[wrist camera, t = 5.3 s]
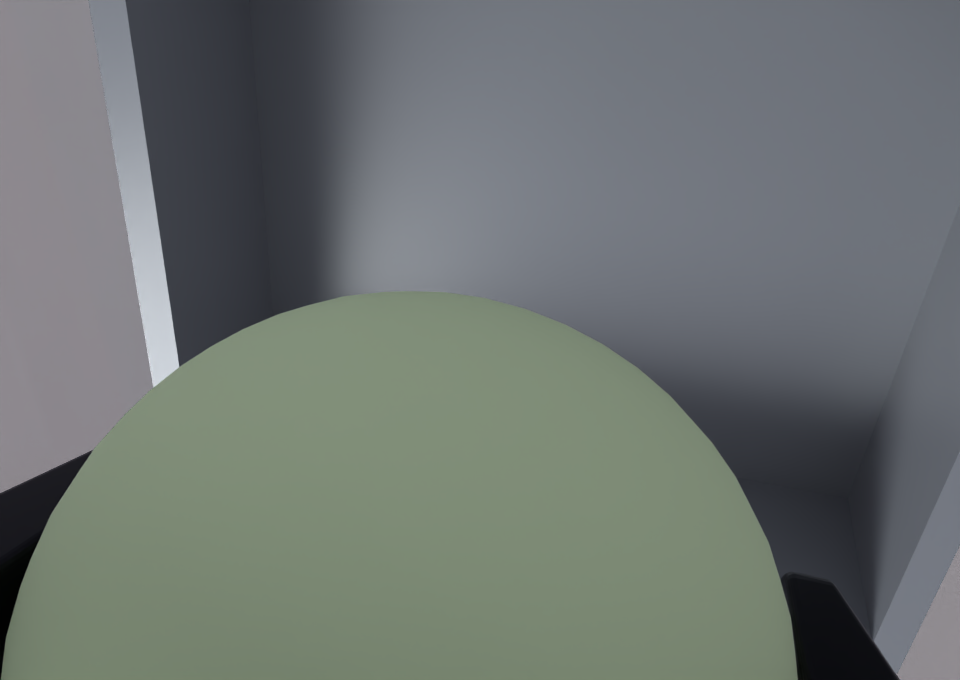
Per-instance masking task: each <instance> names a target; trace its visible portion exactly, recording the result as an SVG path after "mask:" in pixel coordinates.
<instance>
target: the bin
mask: <svg viewBox="0 0 960 680" xmlns="http://www.w3.org/2000/svg"><path fill="white" fill-rule="evenodd" d="M88 1H89V7H90V13H91V19H92V25H93V31H94V37H95V43H96V49H97V55H98V61H99V67H100V73H101V78H102V84H103V90H104V96H105V102H106V108H107V114H108V120H109V126H110V132H111V138H112V144H113V150H114V156H115V162H116V168H117V174H118V179H119V185H120V191H121V197H122V203H123V209H124V215H125V221H126V227H127V233H128V239H129V245H130V251H131V257H132V263H133V269H134V275H135V281H136V286H137V292H138V298H139V304H140V310H141V316H142V322H143V328H144V334H145V340H146V346H147V352H148V358H149V364H150V370H151V376H152V382H153V387H155V386H156V385H158V384H159V383H160V382H161V381H163V380H164V379H165V378H166V377H168V376H169V375H170V374H171V373H173V372H174V371H175V370H176V369H178V368H179V367H180V366H182V365H183V364H185V363H186V362H188V361H189V360H191V359H192V358H194V357H195V356H197V355H199V354H200V353H202V352H203V351H205V350H206V349H208V348H209V347H211V346H213V345H214V344H216V343H218V342H220V341H222V340H224V339H226V338H228V337H229V336H231V335H233V334H235V333H237V332H239V331H241V330H242V329H244V328H247V327H249V326H252V325H254V324H256V323H259V322H261V321H263V320H266V319H268V318H270V317H273V316H275V315H278V314H281V313H284V312H287V311H290V310H294V309H297V308H300V307H304V306H307V305H311V304H315V303H319V302H323V301H327V300H331V299H335V298H339V297H343V296H351V295H360V294H370V293H379V292H396V291H420V292H447V293H454V294H461V295H468V296H475V297H481V298H487V299H490V300H494V301H498V302H502V303H505V304H509V305H513V306H517V307H520V308H524V309H527V310H530V311H532V312H535V313H537V314H540V315H542V316H545V317H548V318H550V319H553V320H555V321H558V322H560V323H563V324H565V325H567V326H569V327H571V328H573V329H575V330H577V331H579V332H581V333H582V334H584V335H586V336H588V337H590V338H592V339H594V340H596V341H598V342H600V343H602V344H603V345H605V346H606V347H608V348H609V349H611V350H612V351H614V352H615V353H617V354H618V355H620V356H621V357H623V358H624V359H625V360H627V361H628V362H630V363H631V364H633V365H634V366H636V367H637V368H639V369H640V370H641V371H642V372H643V373H644V374H646V375H647V376H648V377H649V378H650V379H651V380H653V381H654V382H655V383H656V384H657V385H658V386H660V387H661V388H662V389H663V390H664V391H665V392H666V393H668V394H669V395H670V396H671V397H672V398H673V399H674V401H675V402H676V403H677V404H678V405H679V406H680V407H681V408H682V409H683V410H684V412H685V413H686V414H687V415H688V416H689V417H690V418H691V419H692V420H693V422H694V423H695V424H696V425H697V426H698V427H699V428H700V429H701V431H702V432H703V433H704V434H705V435H706V436H707V437H708V438H709V440H710V441H711V442H712V443H713V445H714V446H715V448H716V449H717V450H718V452H719V453H720V455H721V456H722V458H723V459H724V461H725V462H726V463H727V465H728V466H729V468H730V469H731V471H732V472H733V474H734V475H735V476H736V478H737V480H738V482H739V484H740V486H741V488H742V490H743V492H744V494H745V496H746V498H747V500H748V502H749V504H750V506H751V508H752V510H753V512H754V514H755V516H756V518H757V520H758V522H759V524H760V526H761V528H762V530H763V532H764V534H765V536H766V538H767V540H768V542H769V545H770V548H771V552H772V555H773V558H774V561H775V564H776V568H777V571H778V574H779V577H780V579H781V578H782V576H783V575H784V574H785V573H788V572H797V573H802V574H807V575H812V576H816V577H821V578H826V579H828V580H830V581H831V582H833V583H834V584H835V585H836V586H837V588H838V589H839V591H840V592H841V593H842V595H843V596H844V598H845V599H846V601H847V602H848V604H849V605H850V607H851V608H852V610H853V611H854V613H855V614H856V616H857V617H858V619H859V620H860V622H861V623H862V625H863V626H864V628H865V629H866V630H867V632H868V633H869V635H870V636H871V638H872V639H873V641H874V642H875V644H876V645H877V647H878V648H879V650H880V651H881V653H882V654H883V656H884V657H885V659H886V660H887V662H888V663H889V664H890V666H891V667H892V669H893V670H894V672H895V673H898V671H899V669H900V667H901V665H902V663H903V661H904V659H905V657H906V655H907V653H908V651H909V649H910V647H911V645H912V642H913V640H914V638H915V636H916V634H917V632H918V630H919V628H920V626H921V624H922V622H923V620H924V618H925V616H926V614H927V612H928V610H929V608H930V606H931V604H932V601H933V599H934V597H935V595H936V593H937V591H938V589H939V587H940V585H941V583H942V581H943V579H944V577H945V575H946V573H947V571H948V569H949V567H950V565H951V562H952V560H953V558H954V556H955V554H956V552H957V550H958V548H959V546H960V0H88Z"/></svg>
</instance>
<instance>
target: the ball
mask: <svg viewBox="0 0 960 680" xmlns="http://www.w3.org/2000/svg"><path fill="white" fill-rule="evenodd" d="M1 680H798V676H797V666H796V655H795V647H794V639H793V631H792V623H791V616H790V613H789V609H788V605H787V602H786V598H785V595H784V591H783V588H782V584H781V580H780V577H779V574H778V571H777V568H776V564H775V561H774V558H773V555H772V552H771V548H770V545H769V542H768V540H767V538H766V536H765V534H764V532H763V530H762V528H761V526H760V524H759V522H758V520H757V518H756V516H755V514H754V512H753V510H752V508H751V506H750V504H749V502H748V500H747V498H746V496H745V494H744V492H743V490H742V488H741V486H740V484H739V482H738V480H737V478H736V476H735V475H734V474H733V472H732V471H731V469H730V468H729V466H728V465H727V463H726V462H725V461H724V459H723V458H722V456H721V455H720V453H719V452H718V450H717V449H716V448H715V446H714V445H713V443H712V442H711V441H710V440H709V438H708V437H707V436H706V435H705V434H704V433H703V432H702V431H701V429H700V428H699V427H698V426H697V425H696V424H695V423H694V422H693V420H692V419H691V418H690V417H689V416H688V415H687V414H686V413H685V412H684V410H683V409H682V408H681V407H680V406H679V405H678V404H677V403H676V402H675V401H674V399H673V398H672V397H671V396H670V395H669V394H668V393H666V392H665V391H664V390H663V389H662V388H661V387H660V386H658V385H657V384H656V383H655V382H654V381H653V380H651V379H650V378H649V377H648V376H647V375H646V374H644V373H643V372H642V371H641V370H640V369H639V368H637V367H636V366H634V365H633V364H631V363H630V362H628V361H627V360H625V359H624V358H623V357H621V356H620V355H618V354H617V353H615V352H614V351H612V350H611V349H609V348H608V347H606V346H605V345H603V344H602V343H600V342H598V341H596V340H594V339H592V338H590V337H588V336H586V335H584V334H582V333H581V332H579V331H577V330H575V329H573V328H571V327H569V326H567V325H565V324H563V323H560V322H558V321H555V320H553V319H550V318H548V317H545V316H542V315H540V314H537V313H535V312H532V311H530V310H527V309H524V308H520V307H517V306H513V305H509V304H505V303H502V302H498V301H494V300H490V299H487V298H481V297H475V296H468V295H461V294H454V293H447V292H420V291H396V292H379V293H370V294H360V295H351V296H343V297H339V298H335V299H331V300H327V301H323V302H319V303H315V304H311V305H307V306H304V307H300V308H297V309H294V310H290V311H287V312H284V313H281V314H278V315H275V316H273V317H270V318H268V319H266V320H263V321H261V322H259V323H256V324H254V325H252V326H249V327H247V328H244V329H242V330H241V331H239V332H237V333H235V334H233V335H231V336H229V337H228V338H226V339H224V340H222V341H220V342H218V343H216V344H214V345H213V346H211V347H209V348H208V349H206V350H205V351H203V352H202V353H200V354H199V355H197V356H195V357H194V358H192V359H191V360H189V361H188V362H186V363H185V364H183V365H182V366H180V367H179V368H178V369H176V370H175V371H174V372H173V373H171V374H170V375H169V376H168V377H166V378H165V379H164V380H163V381H161V382H160V383H159V384H158V385H156V386H155V387H154V388H152V389H151V390H150V391H149V392H148V393H147V394H146V395H145V396H144V397H143V398H142V399H141V400H139V401H138V402H137V403H136V404H135V405H134V406H133V407H132V408H131V409H130V410H129V411H128V412H127V413H126V414H125V415H124V416H123V417H122V418H121V419H120V420H119V422H118V423H117V424H116V425H115V426H114V427H113V428H112V429H111V430H110V432H109V433H108V434H107V435H106V436H105V437H104V438H103V439H102V440H101V441H100V443H99V444H98V445H97V446H96V447H95V448H94V450H93V451H92V453H91V454H90V456H89V457H88V459H87V460H86V462H85V463H84V465H83V466H82V468H81V469H80V471H79V472H78V473H77V475H76V477H75V478H74V480H73V481H72V483H71V484H70V486H69V487H68V489H67V490H66V492H65V493H64V495H63V496H62V498H61V500H60V501H59V503H58V504H57V506H56V507H55V509H54V510H53V512H52V513H51V515H50V518H49V520H48V522H47V524H46V526H45V529H44V531H43V533H42V535H41V537H40V540H39V542H38V544H37V546H36V549H35V551H34V553H33V555H32V557H31V560H30V562H29V565H28V567H27V570H26V573H25V575H24V578H23V581H22V583H21V586H20V589H19V593H18V596H17V600H16V603H15V607H14V611H13V614H12V618H11V621H10V625H9V629H8V632H7V636H6V641H5V649H4V657H3V665H2V673H1Z"/></svg>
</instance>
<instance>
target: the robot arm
mask: <svg viewBox="0 0 960 680" xmlns="http://www.w3.org/2000/svg"><path fill="white" fill-rule="evenodd" d="M92 451H93V450H92ZM92 451H90V452H87V453H85V454H83V455H81V456H79V457H77V458H75V459H73V460H70V461H68V462H66V463H64V464H62V465H60V466H58V467H55V468H53V469H51V470H49V471H47V472H45V473H43V474H41V475H38V476H36V477H34V478H32V479H30V480H28V481H26V482H24V483H21V484H19V485H17V486H15V487H13V488H11V489H9V490H6V491H4V492H2V493H0V680H1V673H2V665H3V657H4V649H5V641H6V636H7V632H8V629H9V625H10V621H11V618H12V614H13V611H14V607H15V603H16V600H17V596H18V593H19V589H20V586H21V583H22V581H23V578H24V575H25V573H26V570H27V567H28V565H29V562H30V560H31V557H32V555H33V553H34V551H35V549H36V546H37V544H38V542H39V540H40V537H41V535H42V533H43V531H44V529H45V526H46V524H47V522H48V520H49V518H50V515H51V513H52V512H53V510H54V509H55V507H56V506H57V504H58V503H59V501H60V500H61V498H62V496H63V495H64V493H65V492H66V490H67V489H68V487H69V486H70V484H71V483H72V481H73V480H74V478H75V477H76V475H77V473H78V472H79V471H80V469H81V468H82V466H83V465H84V463H85V462H86V460H87V459H88V457H89V456H90V454H91V453H92ZM780 580H781V584H782V588H783V591H784V595H785V598H786V602H787V605H788V609H789V613H790V616H791V623H792V631H793V639H794V647H795V655H796V666H797V676H798V680H900V679H899V678H898V676H897V675H896V673H895V672H894V670H893V669H892V667H891V666H890V664H889V663H888V662H887V660H886V659H885V657H884V656H883V654H882V653H881V651H880V650H879V648H878V647H877V645H876V644H875V642H874V641H873V639H872V638H871V636H870V635H869V633H868V632H867V630H866V629H865V628H864V626H863V625H862V623H861V622H860V620H859V619H858V617H857V616H856V614H855V613H854V611H853V610H852V608H851V607H850V605H849V604H848V602H847V601H846V599H845V598H844V596H843V595H842V593H841V592H840V591H839V589H838V588H837V586H836V585H835V584H834V583H833V582H831V581H830V580H828V579H826V578H821V577H816V576H812V575H807V574H802V573H797V572H788V573H785V574H784V575H783V576H782V578H781V579H780Z"/></svg>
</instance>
